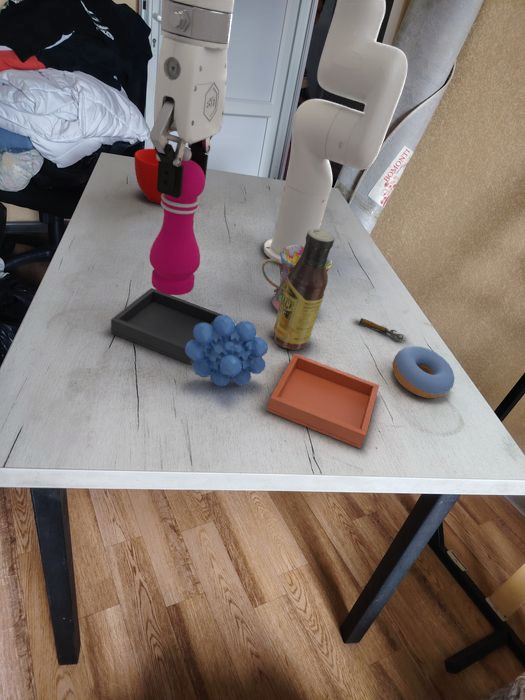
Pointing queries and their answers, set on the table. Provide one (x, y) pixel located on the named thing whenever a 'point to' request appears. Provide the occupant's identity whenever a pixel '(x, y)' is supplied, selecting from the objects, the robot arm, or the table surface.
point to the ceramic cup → (147, 173)
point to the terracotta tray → (324, 400)
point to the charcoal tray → (161, 323)
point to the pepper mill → (178, 235)
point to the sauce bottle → (303, 292)
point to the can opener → (381, 329)
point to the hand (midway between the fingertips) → (181, 186)
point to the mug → (287, 269)
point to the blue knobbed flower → (226, 351)
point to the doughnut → (423, 372)
